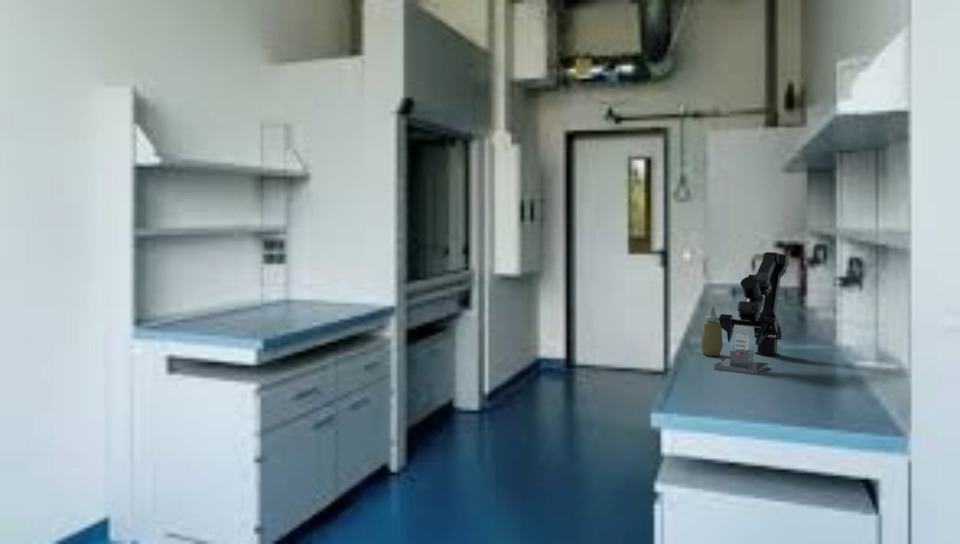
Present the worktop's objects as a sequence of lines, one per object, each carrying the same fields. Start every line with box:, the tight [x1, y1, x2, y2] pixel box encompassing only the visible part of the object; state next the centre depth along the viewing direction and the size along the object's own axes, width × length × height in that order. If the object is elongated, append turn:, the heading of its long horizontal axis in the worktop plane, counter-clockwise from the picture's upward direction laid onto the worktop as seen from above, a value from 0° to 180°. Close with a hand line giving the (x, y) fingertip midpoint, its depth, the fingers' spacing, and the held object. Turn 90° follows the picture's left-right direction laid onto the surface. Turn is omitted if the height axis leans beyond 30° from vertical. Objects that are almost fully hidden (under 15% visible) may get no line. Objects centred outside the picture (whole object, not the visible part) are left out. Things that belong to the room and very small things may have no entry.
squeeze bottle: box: [699, 306, 724, 357], centre depth 280 cm, size 8×8×18 cm
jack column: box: [734, 332, 750, 353], centre depth 254 cm, size 4×4×10 cm
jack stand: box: [713, 348, 769, 375], centre depth 255 cm, size 14×14×6 cm
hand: (742, 342), depth 254 cm, fingers open, 9 cm apart
